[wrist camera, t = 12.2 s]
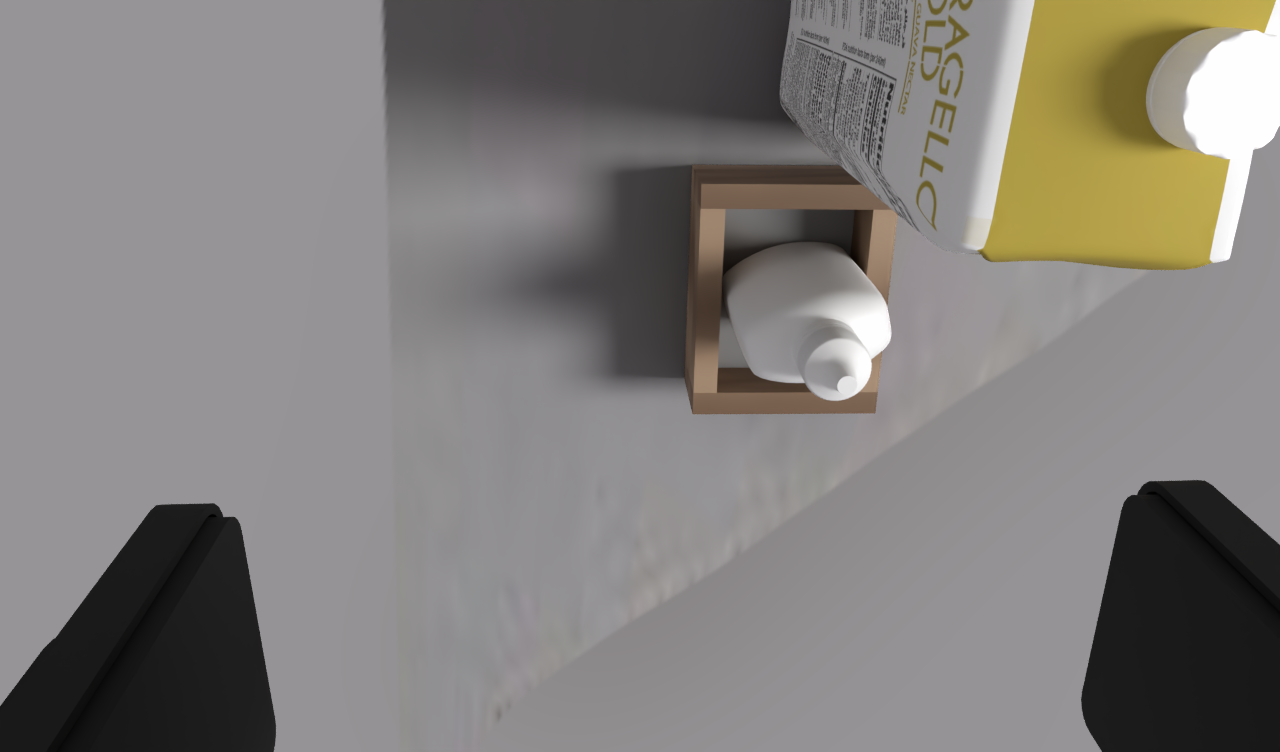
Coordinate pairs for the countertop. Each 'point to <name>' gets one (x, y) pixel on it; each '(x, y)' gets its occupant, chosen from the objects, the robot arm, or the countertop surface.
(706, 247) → the bottle holder
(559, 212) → the countertop surface
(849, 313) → the eye dropper bottle
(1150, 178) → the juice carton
